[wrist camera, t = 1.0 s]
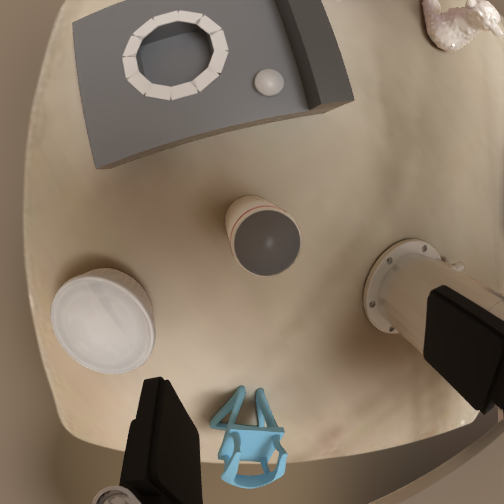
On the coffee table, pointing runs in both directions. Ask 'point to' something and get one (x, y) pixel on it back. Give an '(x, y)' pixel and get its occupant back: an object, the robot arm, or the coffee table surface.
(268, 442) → the chair
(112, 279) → the ramekin
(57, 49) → the coffee table surface
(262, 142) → the coffee table surface
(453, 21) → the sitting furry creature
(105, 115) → the camera body
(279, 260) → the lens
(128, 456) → the robot arm
